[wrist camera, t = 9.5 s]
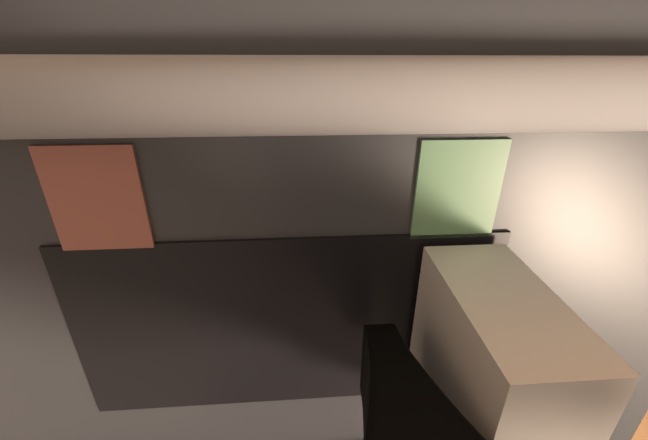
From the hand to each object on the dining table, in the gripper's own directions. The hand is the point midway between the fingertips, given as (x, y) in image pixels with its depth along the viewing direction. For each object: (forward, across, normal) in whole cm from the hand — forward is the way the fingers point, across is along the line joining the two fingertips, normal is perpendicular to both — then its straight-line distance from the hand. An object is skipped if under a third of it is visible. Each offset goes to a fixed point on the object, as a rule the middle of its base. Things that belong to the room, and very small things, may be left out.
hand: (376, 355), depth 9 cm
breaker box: (+4, +2, 0) cm, 5 cm away
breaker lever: (+1, -2, 0) cm, 2 cm away
